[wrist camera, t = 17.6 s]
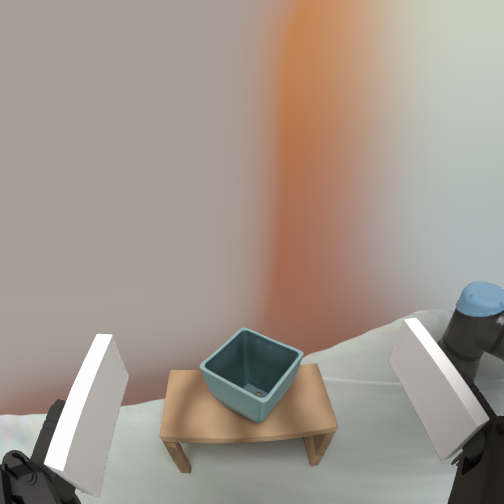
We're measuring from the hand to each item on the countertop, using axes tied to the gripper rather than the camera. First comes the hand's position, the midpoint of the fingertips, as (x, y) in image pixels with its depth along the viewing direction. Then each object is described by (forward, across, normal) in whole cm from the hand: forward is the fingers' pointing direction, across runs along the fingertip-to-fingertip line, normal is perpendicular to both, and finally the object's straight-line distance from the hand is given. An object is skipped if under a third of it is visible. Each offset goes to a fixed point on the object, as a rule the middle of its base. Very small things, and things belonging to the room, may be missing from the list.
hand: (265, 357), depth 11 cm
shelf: (+14, 0, -38) cm, 41 cm away
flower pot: (+14, +1, -24) cm, 27 cm away
